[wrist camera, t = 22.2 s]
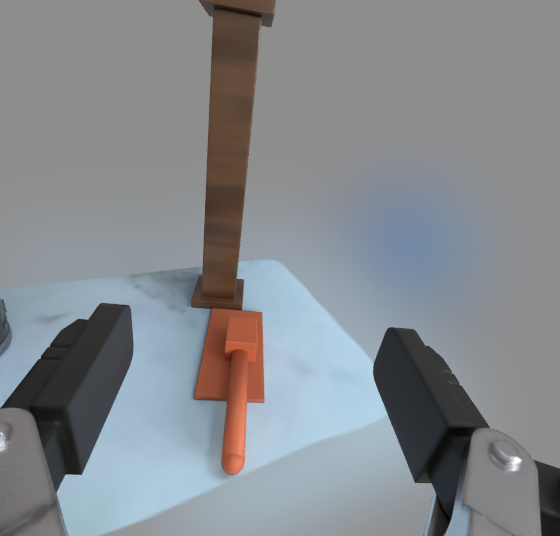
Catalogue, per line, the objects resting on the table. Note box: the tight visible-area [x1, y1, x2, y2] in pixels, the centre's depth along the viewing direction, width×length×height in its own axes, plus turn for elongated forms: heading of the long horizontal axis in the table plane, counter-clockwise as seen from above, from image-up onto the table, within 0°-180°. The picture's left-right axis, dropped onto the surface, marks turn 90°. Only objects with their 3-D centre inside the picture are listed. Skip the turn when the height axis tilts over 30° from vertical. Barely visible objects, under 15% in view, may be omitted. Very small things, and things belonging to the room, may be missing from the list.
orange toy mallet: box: [221, 317, 257, 475], centre depth 29 cm, size 15×3×2 cm, turn 3°
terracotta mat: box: [194, 308, 264, 402], centre depth 35 cm, size 13×6×1 cm, turn 3°
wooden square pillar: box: [192, 0, 276, 311], centre depth 36 cm, size 6×6×32 cm
